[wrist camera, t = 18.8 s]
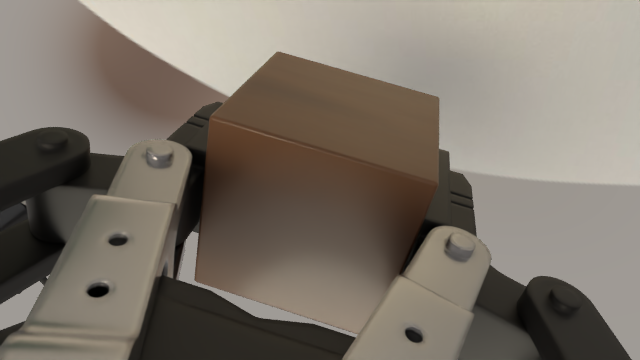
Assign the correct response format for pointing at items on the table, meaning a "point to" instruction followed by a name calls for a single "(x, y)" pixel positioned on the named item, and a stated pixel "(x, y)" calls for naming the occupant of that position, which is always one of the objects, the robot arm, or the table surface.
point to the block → (316, 189)
